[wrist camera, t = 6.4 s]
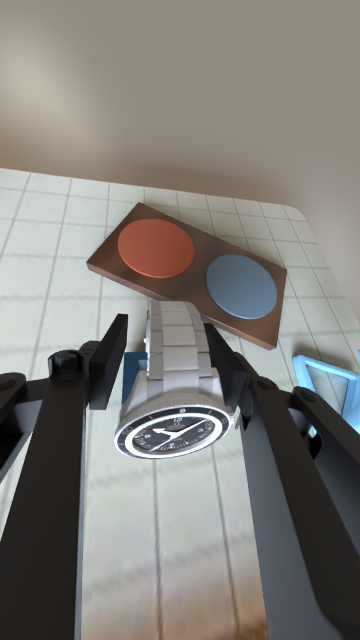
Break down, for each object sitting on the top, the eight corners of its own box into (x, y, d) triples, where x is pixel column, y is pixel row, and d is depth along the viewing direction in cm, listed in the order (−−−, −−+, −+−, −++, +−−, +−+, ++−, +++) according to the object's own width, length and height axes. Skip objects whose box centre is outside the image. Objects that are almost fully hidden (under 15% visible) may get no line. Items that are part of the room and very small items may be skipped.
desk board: (88, 269, 20) (85, 262, 19) (138, 210, 26) (138, 201, 24) (269, 350, 20) (276, 347, 19) (281, 274, 26) (287, 269, 25)
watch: (123, 440, 14) (86, 518, 5) (127, 342, 18) (111, 267, 8) (191, 432, 16) (277, 481, 6) (184, 341, 19) (231, 275, 9)
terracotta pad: (102, 256, 20) (101, 254, 19) (140, 210, 24) (140, 208, 24) (178, 290, 20) (178, 289, 20) (203, 239, 24) (204, 237, 24)
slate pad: (194, 298, 20) (195, 296, 20) (217, 245, 24) (218, 243, 24) (270, 332, 20) (271, 331, 20) (279, 274, 24) (281, 272, 24)
